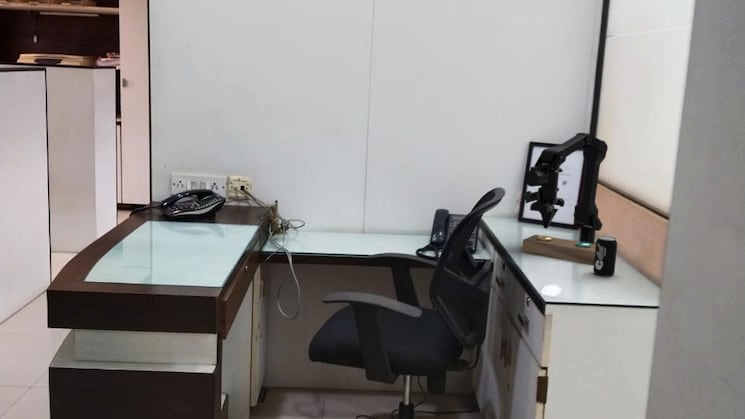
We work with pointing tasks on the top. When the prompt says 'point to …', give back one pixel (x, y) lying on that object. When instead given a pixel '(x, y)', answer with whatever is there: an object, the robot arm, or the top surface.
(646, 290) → the top surface
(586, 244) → the plunger teal
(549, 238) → the plunger ochre
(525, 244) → the walnut block
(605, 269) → the beverage can
